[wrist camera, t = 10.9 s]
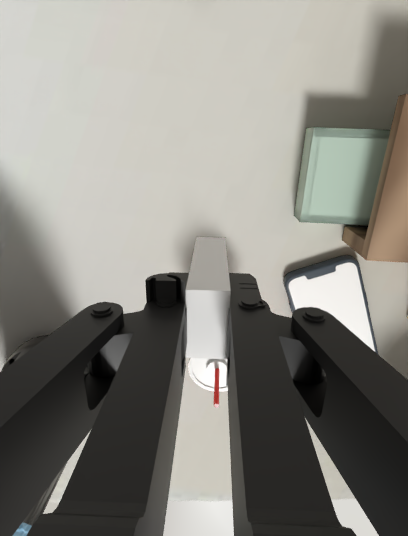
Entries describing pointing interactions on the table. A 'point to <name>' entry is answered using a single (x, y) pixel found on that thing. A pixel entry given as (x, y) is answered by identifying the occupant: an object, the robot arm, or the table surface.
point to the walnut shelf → (388, 200)
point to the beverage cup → (209, 375)
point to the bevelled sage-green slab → (340, 174)
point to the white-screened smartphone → (334, 294)
